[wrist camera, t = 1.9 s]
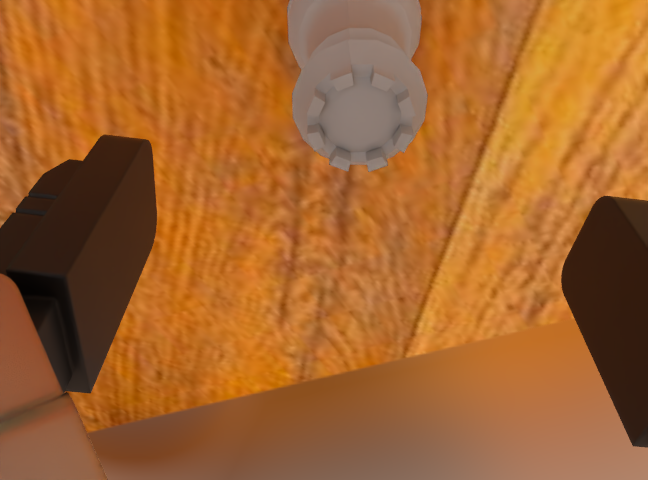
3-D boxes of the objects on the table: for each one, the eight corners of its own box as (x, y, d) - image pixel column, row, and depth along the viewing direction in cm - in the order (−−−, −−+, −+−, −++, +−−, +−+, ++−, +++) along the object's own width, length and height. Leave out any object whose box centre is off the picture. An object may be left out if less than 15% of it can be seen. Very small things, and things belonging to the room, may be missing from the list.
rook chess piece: (273, -40, 18) (238, 47, 12) (412, -70, 17) (454, 5, 11) (303, 90, 21) (287, 217, 14) (424, 68, 20) (464, 191, 14)
